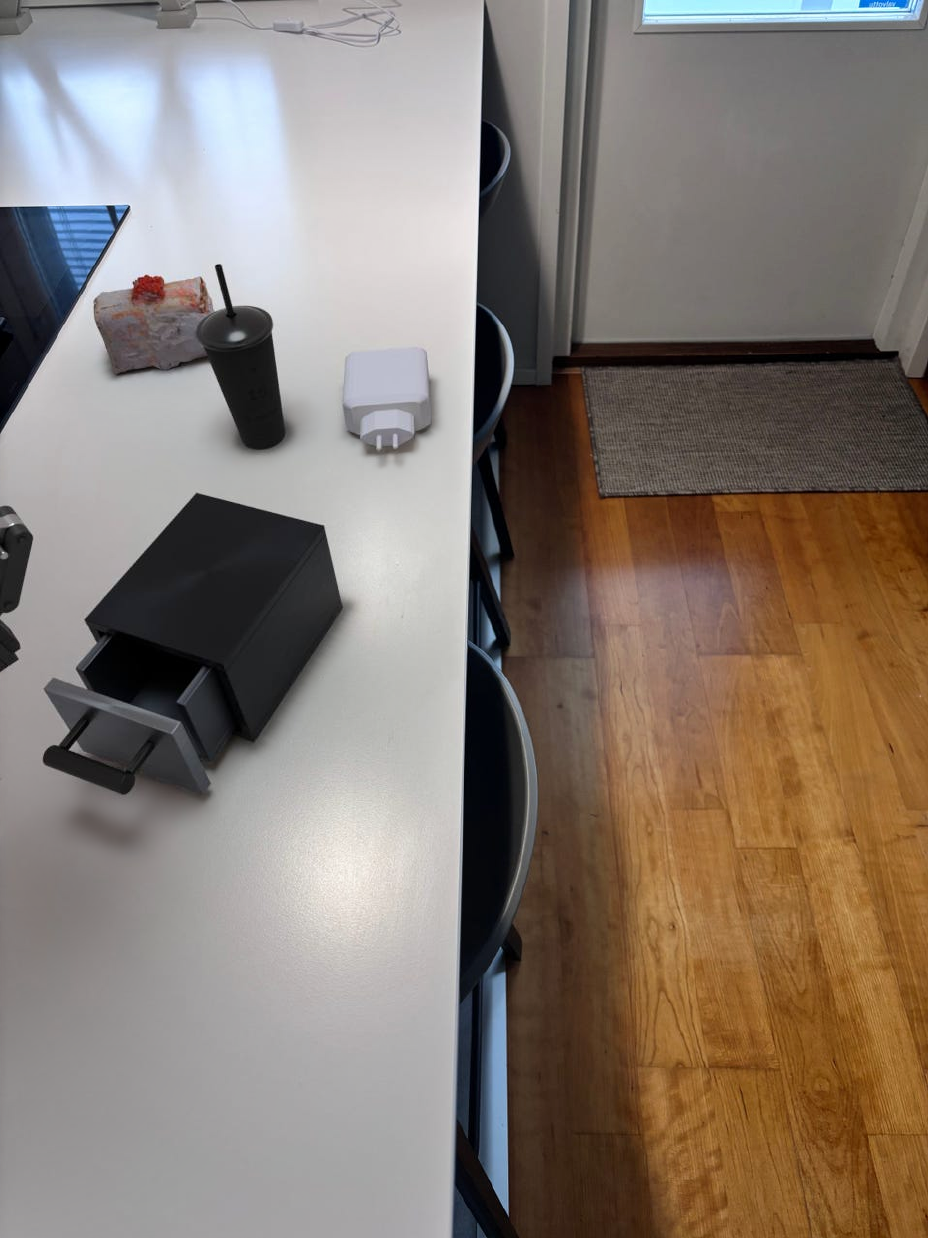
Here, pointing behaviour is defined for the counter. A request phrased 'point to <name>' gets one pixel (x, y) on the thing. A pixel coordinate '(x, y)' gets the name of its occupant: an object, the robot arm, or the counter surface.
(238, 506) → the cabinet
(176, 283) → the food item
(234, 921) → the counter surface
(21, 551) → the robot arm
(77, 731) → the drawer
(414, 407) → the charger
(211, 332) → the drinking cup
